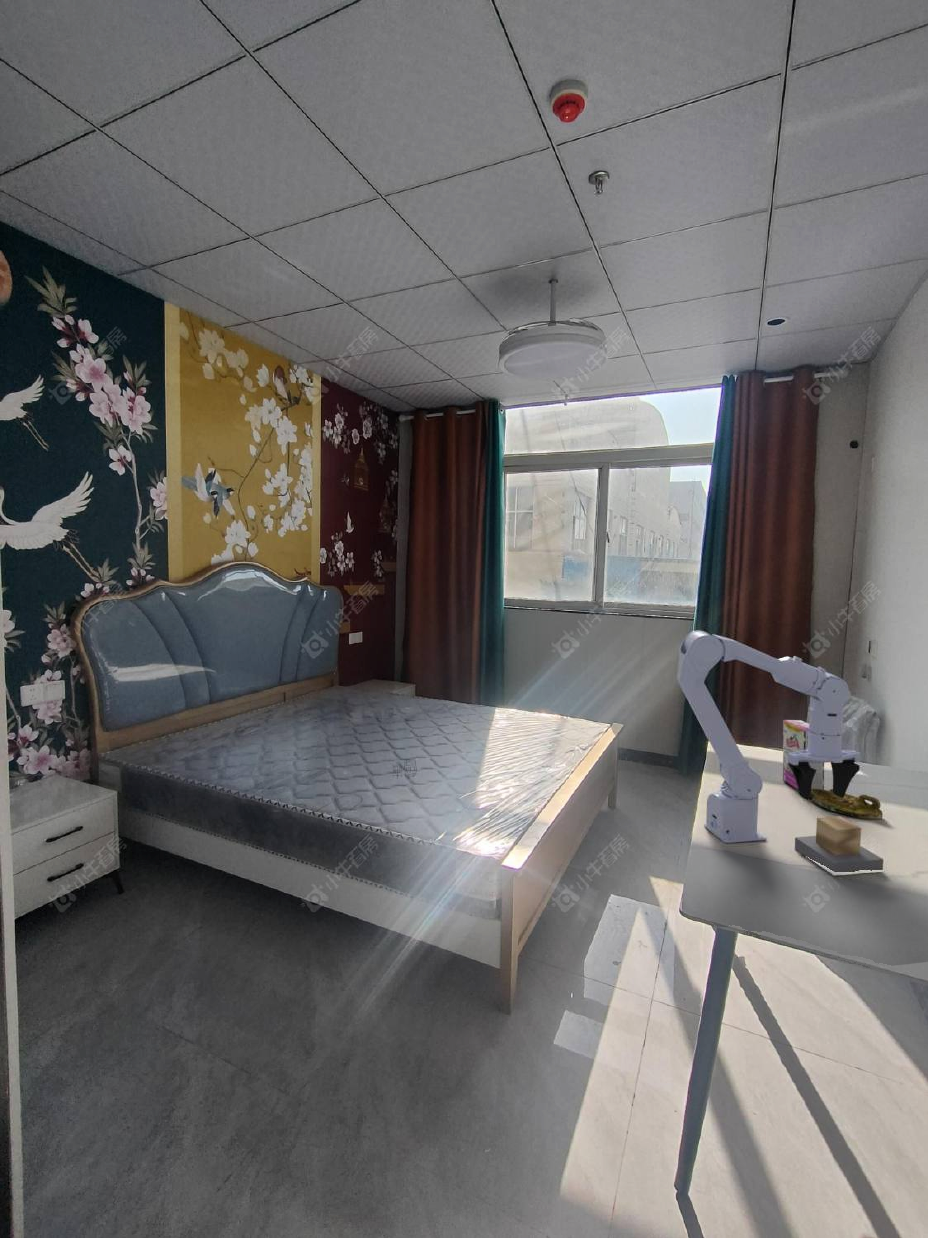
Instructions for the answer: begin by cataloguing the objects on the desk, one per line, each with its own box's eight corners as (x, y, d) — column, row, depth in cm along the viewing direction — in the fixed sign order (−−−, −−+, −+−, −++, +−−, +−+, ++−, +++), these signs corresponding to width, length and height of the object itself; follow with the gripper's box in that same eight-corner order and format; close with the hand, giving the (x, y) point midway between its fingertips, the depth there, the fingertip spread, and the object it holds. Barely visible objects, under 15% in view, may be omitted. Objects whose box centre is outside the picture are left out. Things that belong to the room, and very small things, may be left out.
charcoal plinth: (834, 876, 102) (834, 863, 101) (794, 849, 112) (795, 837, 111) (882, 872, 103) (883, 859, 103) (839, 845, 113) (840, 834, 113)
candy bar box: (781, 781, 147) (781, 719, 147) (801, 781, 147) (801, 719, 146) (803, 795, 136) (804, 728, 136) (825, 796, 136) (825, 729, 135)
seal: (801, 805, 133) (877, 829, 122) (801, 788, 132) (878, 810, 121) (813, 788, 139) (887, 809, 128) (814, 771, 138) (888, 791, 127)
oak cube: (835, 855, 104) (837, 829, 104) (815, 842, 109) (816, 818, 109) (859, 853, 105) (861, 828, 105) (838, 840, 110) (840, 816, 109)
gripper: (806, 739, 108) (802, 806, 110) (874, 736, 110) (870, 802, 111) (781, 729, 115) (778, 792, 117) (846, 726, 117) (842, 789, 118)
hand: (821, 796), depth 114 cm, fingers open, 7 cm apart
